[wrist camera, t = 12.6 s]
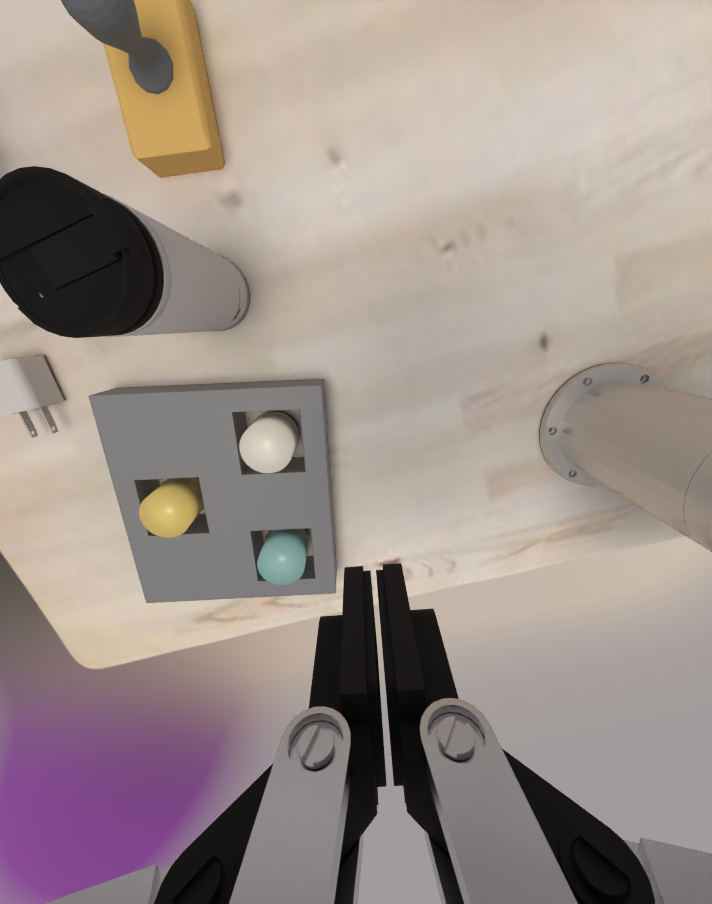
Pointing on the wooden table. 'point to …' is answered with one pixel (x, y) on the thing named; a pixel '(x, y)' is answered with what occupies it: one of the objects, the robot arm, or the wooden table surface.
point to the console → (218, 485)
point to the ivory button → (269, 442)
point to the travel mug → (106, 264)
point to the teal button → (283, 556)
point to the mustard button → (172, 507)
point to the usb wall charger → (28, 389)
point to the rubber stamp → (157, 80)
